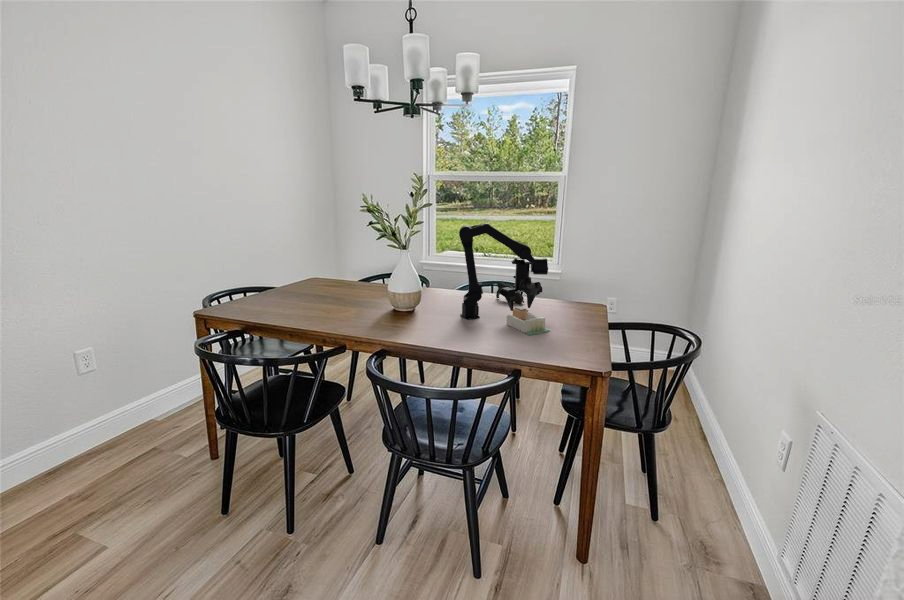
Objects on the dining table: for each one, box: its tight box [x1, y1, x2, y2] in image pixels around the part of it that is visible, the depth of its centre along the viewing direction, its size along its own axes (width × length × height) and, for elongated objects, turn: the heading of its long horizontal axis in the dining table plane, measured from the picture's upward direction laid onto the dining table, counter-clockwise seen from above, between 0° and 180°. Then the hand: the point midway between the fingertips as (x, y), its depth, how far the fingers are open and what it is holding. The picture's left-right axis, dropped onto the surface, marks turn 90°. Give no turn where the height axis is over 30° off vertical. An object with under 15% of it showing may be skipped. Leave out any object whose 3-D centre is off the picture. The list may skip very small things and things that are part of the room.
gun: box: [495, 281, 525, 305], centre depth 208 cm, size 3×16×10 cm, turn 53°
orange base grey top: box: [512, 305, 529, 321], centre depth 183 cm, size 4×5×5 cm
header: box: [506, 311, 551, 336], centre depth 170 cm, size 11×15×5 cm
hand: (520, 309), depth 182 cm, fingers open, 9 cm apart
